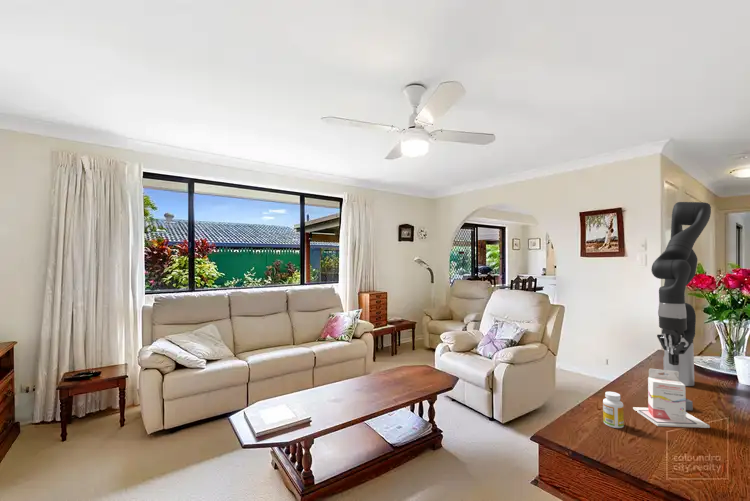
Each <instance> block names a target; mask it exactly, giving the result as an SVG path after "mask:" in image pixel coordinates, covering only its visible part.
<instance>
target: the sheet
mask: <svg viewBox="0 0 750 501" xmlns="http://www.w3.org/2000/svg"><path fill="white" fill-rule="evenodd" d="M632 409H633V410H634V411H635V412H636V411H637V412H636V413H638V414H639V415H641V416H643V417H644V418H646V419H647V420H648V421H649V422H651V423H653V424H654V425H655V426H657V427H675V428H676V427H677V428H678V427H679V428H698V429H699V428H702V429H703V428H704V429H710V428H711V426H710V424H708V423H706V422H704V421H702V420H701V419H699V418H698V417H695V416H693V415H692V414H690V413H688V412H687V411H686V422H681V421H675V420H668V419H661V418H654V417H653V416H652V415H651V414H650V412H649V411H648V407H643V406H642V407H638V406H637V407H635V406H633V407H632Z"/></svg>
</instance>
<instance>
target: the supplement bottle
mask: <svg viewBox="0 0 750 501" xmlns="http://www.w3.org/2000/svg"><path fill="white" fill-rule="evenodd" d="M604 397H605V398H603V400H602V416H603V419H602V420H603V424H605V425H606V426H608V427H610V428H615V429H622V428H624V427H625V426H624V425H625V421H624V420H625V417H624V416H625V414H624V412H625V411H624V403H623V402H622V401H621V394H620V393H618V392H615V391H605V393H604Z"/></svg>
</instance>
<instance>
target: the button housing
mask: <svg viewBox="0 0 750 501" xmlns="http://www.w3.org/2000/svg"><path fill="white" fill-rule="evenodd" d="M693 407H694V405H693V400H690V399H688V398H686V411H693V410H694V409H693Z"/></svg>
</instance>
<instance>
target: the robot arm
mask: <svg viewBox="0 0 750 501" xmlns="http://www.w3.org/2000/svg"><path fill="white" fill-rule="evenodd" d="M711 214H712V207H711V204H710V203H709V202H704V201H703V202H701V201H677V202H675V204H674V205H673V208H672V212H671V224H670V225H671V226H670V239H669V241H668V243H667V245H666V248H665V249H664V251H663V252H662V253H661V254H660V255H659V256H658V257H657V258H655V260H654V261H653V263H652V265H651V268H650V269H651V273H652V275H653V277H655V278H656V279H660V280H664V284H663V285H662V286H660V287H659V289H658V311H657V314H658V327H659V328H660V329H661V333H660V334H656V337H657V339H658V341H659V343H660V345H661V346H662V349H663V350H664V355H663V357H662V359H663V363H662V364H663V365H662V366H663V370H670V371H678V372H679V381H680V382H682V383H683V384H684V385H685V387H694V386H695V362H694V361H695V354H694V339H695V335H696V325H697V324H696V322H697V321H696V319H697V317H696V314H697V313H696V311H695V309H694V307H693V306H692V305H691V304H690V303H687V302H686V295H685V294H686V293H685V292H686V287H687V286H688V285H689V284H690V283H691V281H692V280H693V278H694V277H695V276H696V272H697V268H698V267H697V265H698V256H697V254H696V252H695V251H694V249H693V247H694V244H695V243H696V241H697V240H698V239H699V237H700V235H701V234H702V232H703V231H704V230H705V228H706V226H707V225H708V222H709V221H710V218H711ZM683 226H688V227H686V228H685V229H683ZM663 375H667V376H668V375H669V374H666V373H664V372H663Z"/></svg>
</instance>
